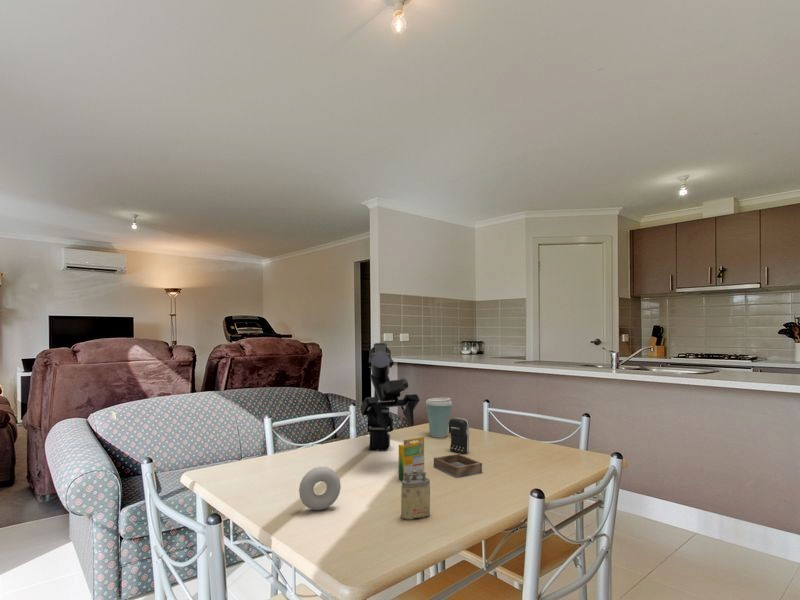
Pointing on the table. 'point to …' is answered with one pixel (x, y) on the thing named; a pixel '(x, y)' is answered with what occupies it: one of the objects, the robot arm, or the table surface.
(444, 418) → the disposable coffee cup
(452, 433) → the black upright block
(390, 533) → the table surface
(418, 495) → the lighter
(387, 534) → the table surface
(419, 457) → the crayon box
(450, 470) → the tray
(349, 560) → the table surface
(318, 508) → the donut
